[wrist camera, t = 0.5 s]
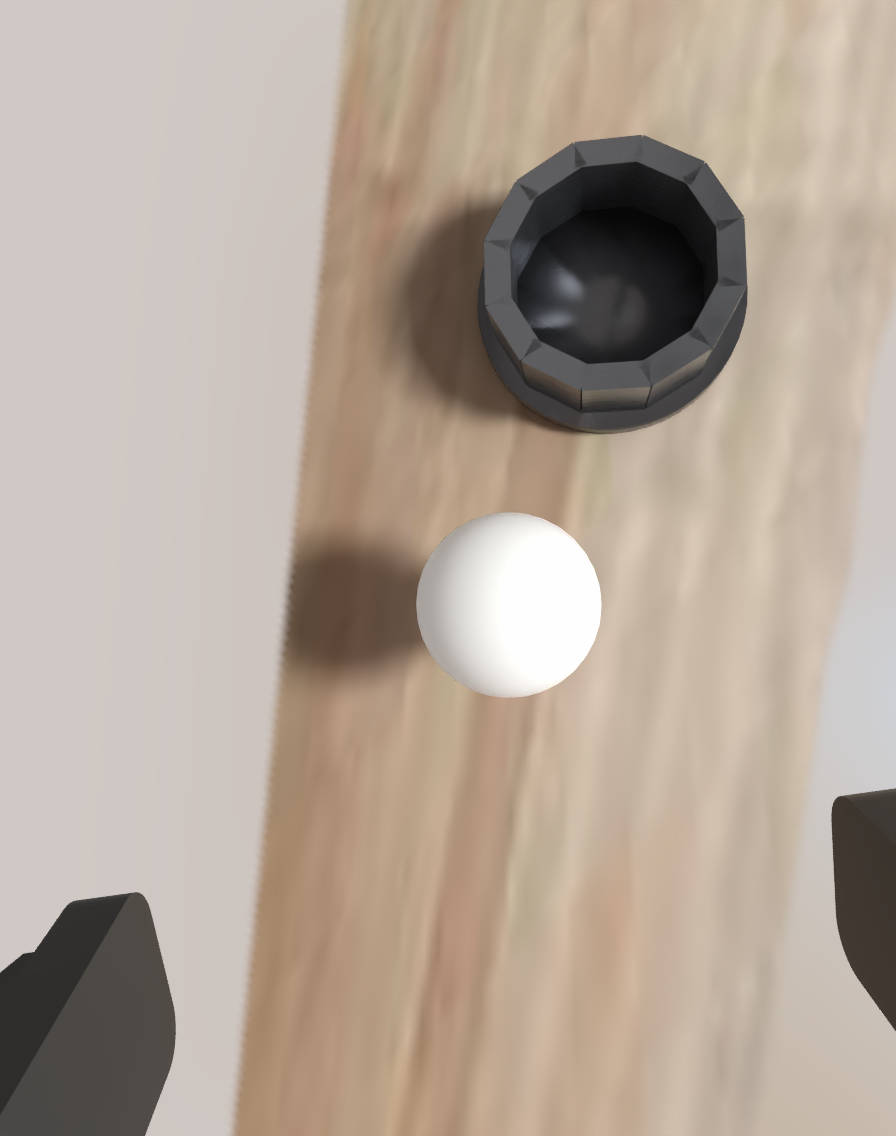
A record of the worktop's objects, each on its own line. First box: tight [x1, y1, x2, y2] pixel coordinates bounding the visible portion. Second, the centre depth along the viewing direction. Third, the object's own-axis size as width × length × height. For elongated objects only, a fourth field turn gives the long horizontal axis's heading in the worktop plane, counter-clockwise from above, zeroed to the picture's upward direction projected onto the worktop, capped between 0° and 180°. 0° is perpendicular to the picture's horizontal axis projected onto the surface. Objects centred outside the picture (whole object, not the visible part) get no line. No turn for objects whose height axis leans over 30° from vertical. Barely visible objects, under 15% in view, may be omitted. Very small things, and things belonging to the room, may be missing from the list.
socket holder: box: [478, 135, 747, 434], centre depth 34 cm, size 11×11×4 cm
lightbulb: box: [416, 512, 601, 698], centre depth 31 cm, size 6×6×11 cm
